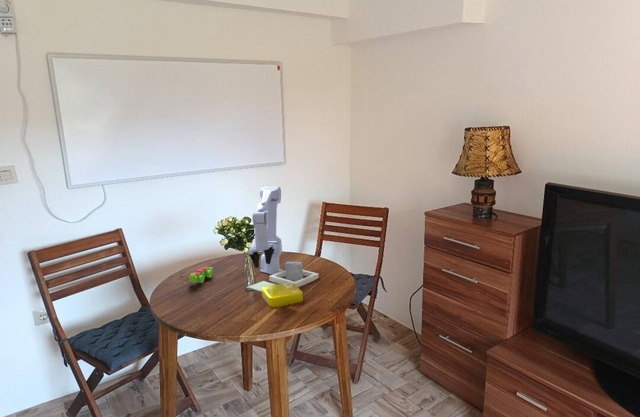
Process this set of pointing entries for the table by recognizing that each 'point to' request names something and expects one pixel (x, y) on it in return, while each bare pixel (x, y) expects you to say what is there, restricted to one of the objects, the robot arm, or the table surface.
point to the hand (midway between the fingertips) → (262, 265)
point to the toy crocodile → (201, 274)
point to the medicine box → (294, 271)
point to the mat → (260, 285)
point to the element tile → (282, 294)
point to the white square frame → (278, 279)
